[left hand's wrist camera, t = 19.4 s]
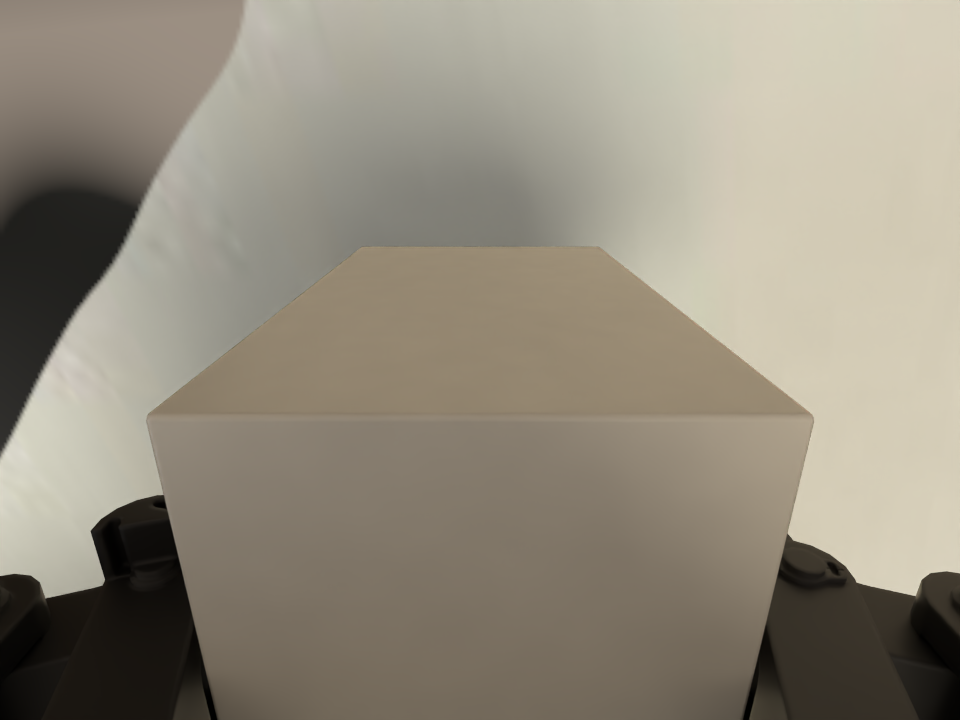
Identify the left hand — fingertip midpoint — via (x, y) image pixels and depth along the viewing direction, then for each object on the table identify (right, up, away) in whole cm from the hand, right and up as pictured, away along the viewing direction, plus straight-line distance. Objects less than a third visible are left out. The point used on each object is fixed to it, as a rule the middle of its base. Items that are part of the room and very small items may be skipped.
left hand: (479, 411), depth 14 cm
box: (0, -8, +4) cm, 9 cm away
